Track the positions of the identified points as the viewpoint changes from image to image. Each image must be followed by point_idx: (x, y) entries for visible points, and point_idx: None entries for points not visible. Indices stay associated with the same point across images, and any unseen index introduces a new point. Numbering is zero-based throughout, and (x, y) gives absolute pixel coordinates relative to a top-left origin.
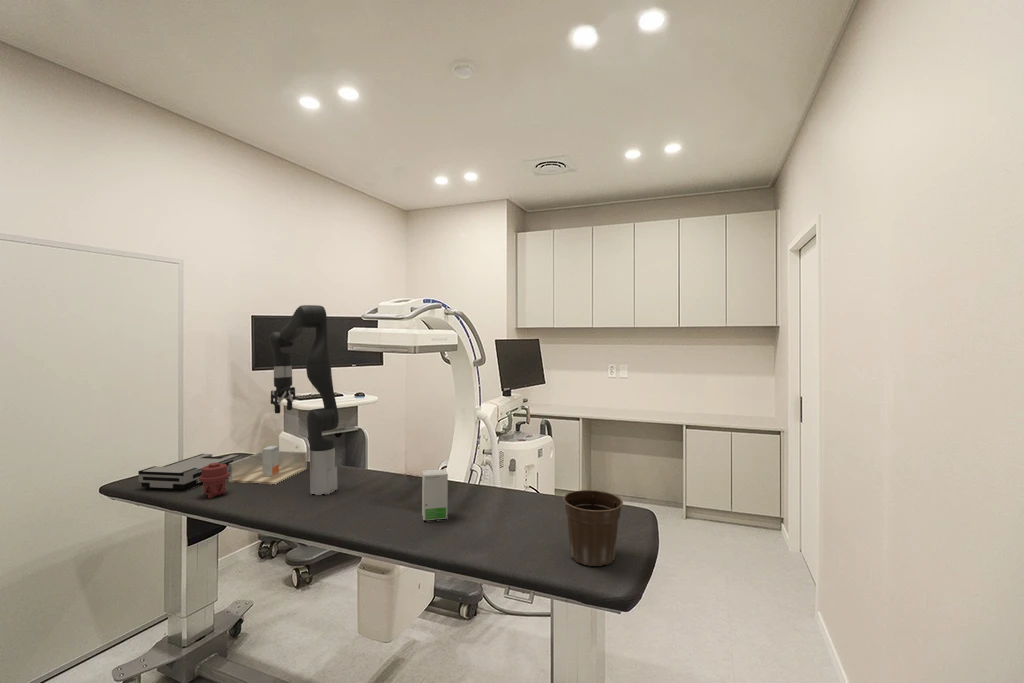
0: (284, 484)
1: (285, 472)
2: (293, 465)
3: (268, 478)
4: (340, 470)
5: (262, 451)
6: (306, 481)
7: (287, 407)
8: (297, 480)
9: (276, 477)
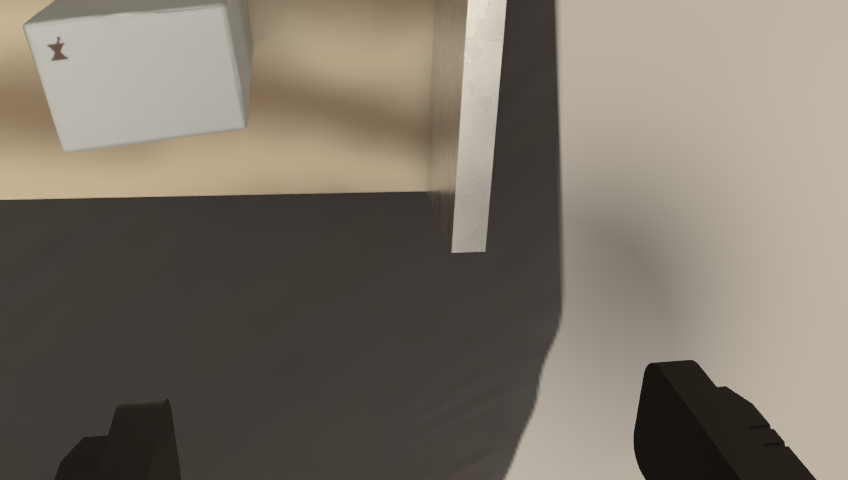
0: (35, 258)
1: (275, 101)
2: (435, 81)
3: None
4: (447, 431)
5: (31, 19)
6: (151, 366)
7: (677, 410)
8: (155, 290)
9: None
